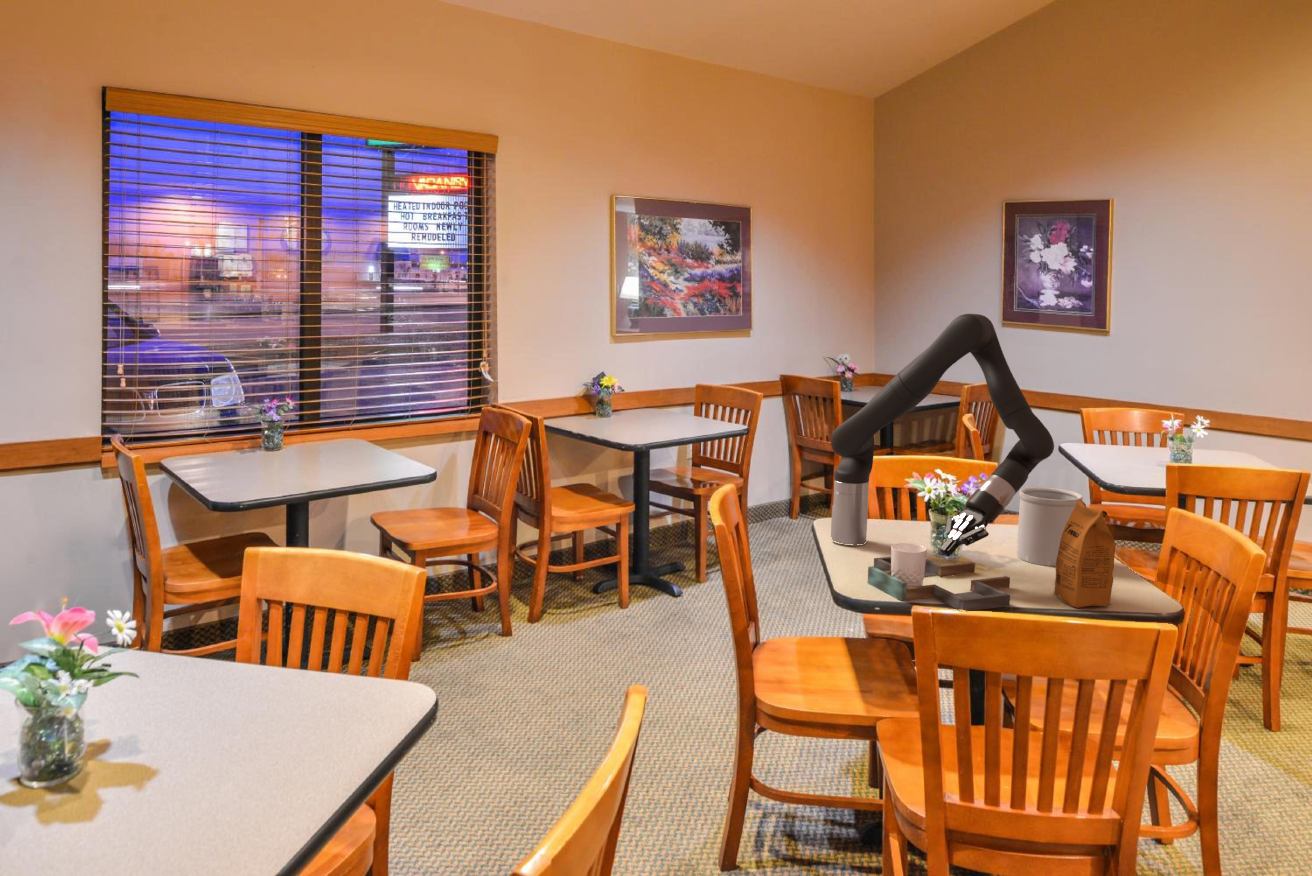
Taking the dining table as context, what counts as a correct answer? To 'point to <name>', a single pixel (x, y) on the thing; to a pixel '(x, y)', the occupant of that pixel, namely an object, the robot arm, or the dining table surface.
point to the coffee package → (1085, 559)
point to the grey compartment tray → (979, 598)
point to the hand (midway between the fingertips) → (944, 553)
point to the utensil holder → (1043, 522)
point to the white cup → (908, 563)
